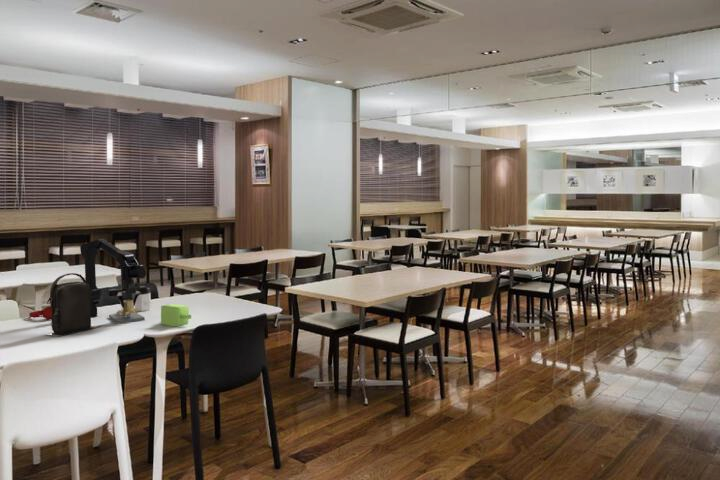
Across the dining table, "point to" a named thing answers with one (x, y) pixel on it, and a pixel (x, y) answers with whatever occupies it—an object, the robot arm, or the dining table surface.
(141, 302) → the jar
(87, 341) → the dining table surface
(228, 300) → the dining table surface
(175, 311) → the gearbox
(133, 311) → the brass gear
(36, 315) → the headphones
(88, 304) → the shoulder bag
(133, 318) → the plate
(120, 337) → the dining table surface
